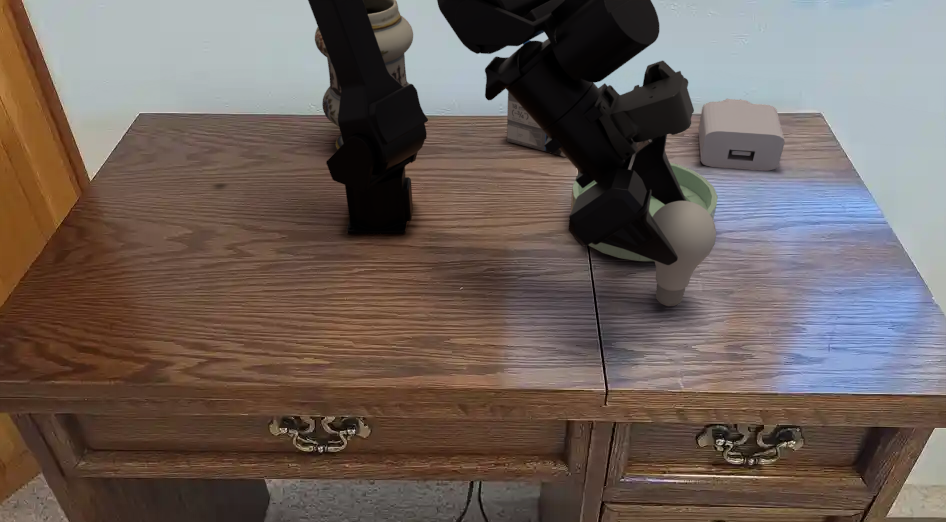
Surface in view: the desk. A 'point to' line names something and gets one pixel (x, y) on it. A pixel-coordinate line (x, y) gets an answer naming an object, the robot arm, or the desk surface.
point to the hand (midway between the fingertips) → (678, 234)
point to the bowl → (693, 191)
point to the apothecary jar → (392, 42)
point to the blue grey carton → (525, 127)
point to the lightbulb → (682, 247)
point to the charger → (740, 135)
